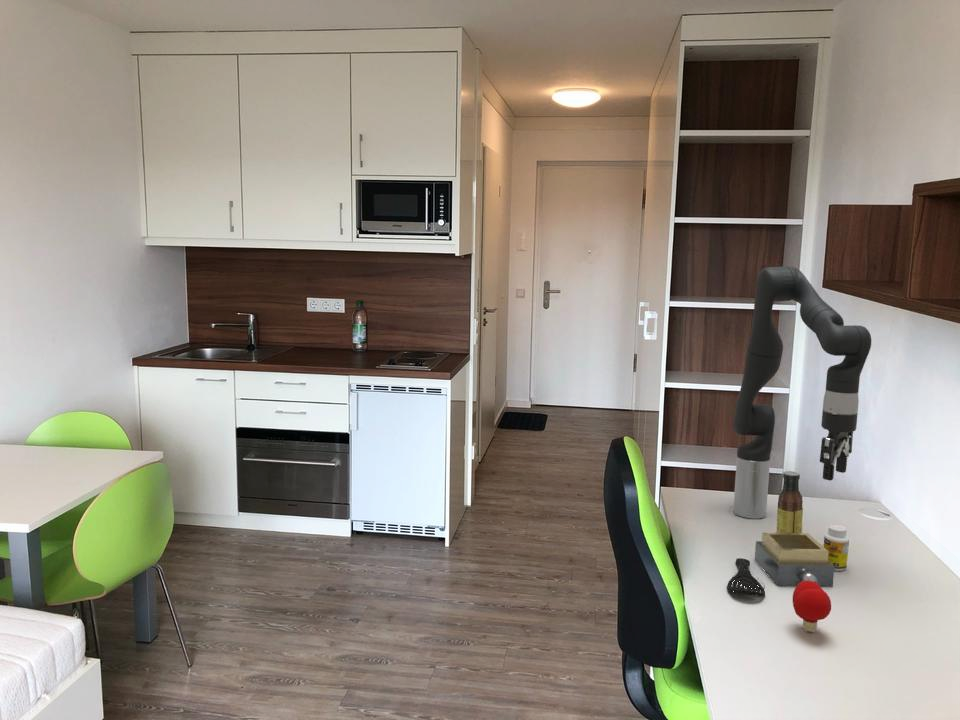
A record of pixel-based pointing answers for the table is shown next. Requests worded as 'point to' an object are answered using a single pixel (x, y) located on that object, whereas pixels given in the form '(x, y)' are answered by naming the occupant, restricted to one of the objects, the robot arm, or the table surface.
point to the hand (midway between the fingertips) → (834, 475)
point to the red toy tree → (811, 604)
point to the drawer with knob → (794, 559)
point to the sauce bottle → (790, 505)
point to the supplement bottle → (837, 547)
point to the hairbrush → (745, 581)
